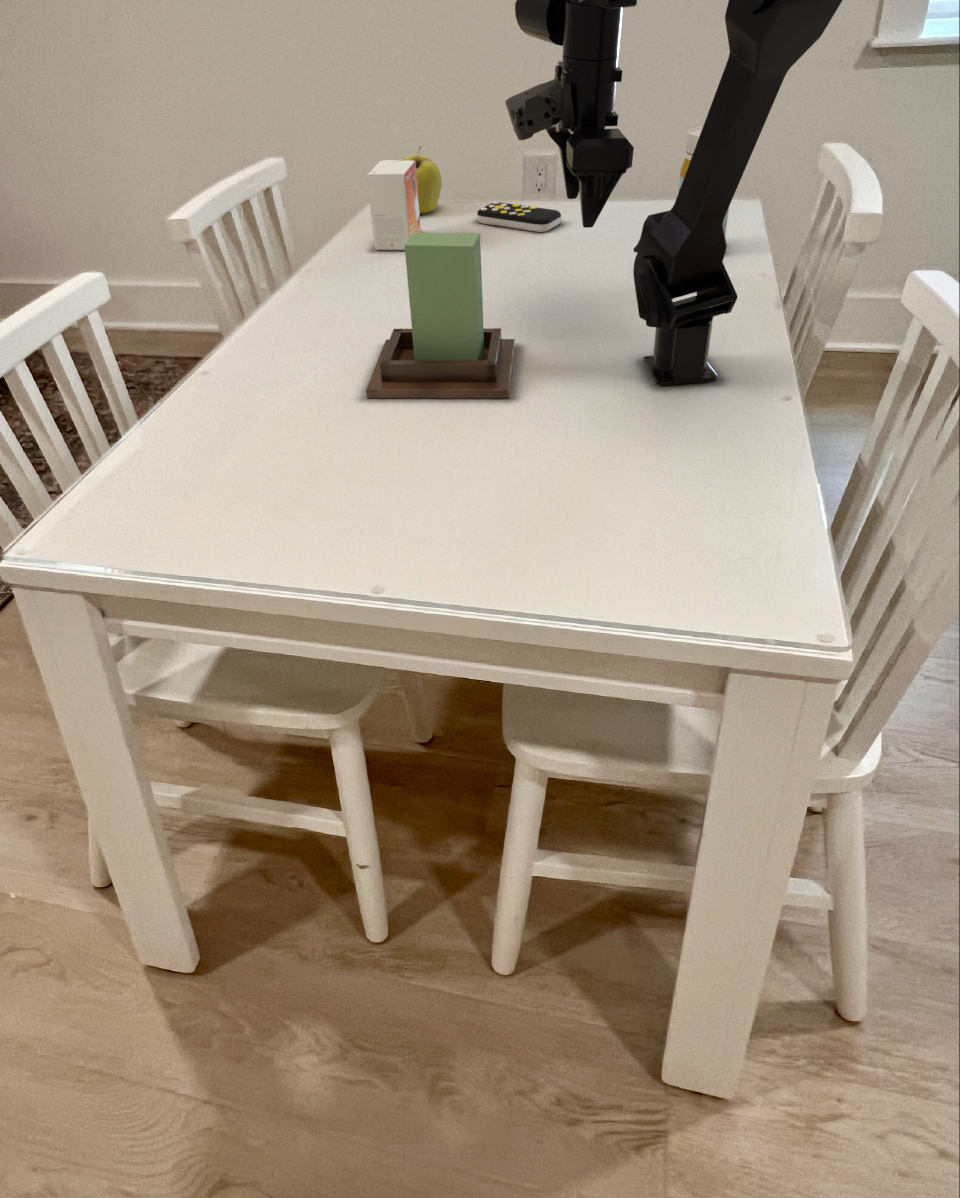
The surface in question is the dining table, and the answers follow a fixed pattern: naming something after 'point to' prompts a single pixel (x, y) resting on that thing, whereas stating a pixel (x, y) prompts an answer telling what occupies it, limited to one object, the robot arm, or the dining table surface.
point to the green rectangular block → (445, 295)
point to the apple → (426, 182)
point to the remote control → (519, 216)
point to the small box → (393, 203)
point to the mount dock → (442, 371)
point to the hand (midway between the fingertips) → (579, 212)
